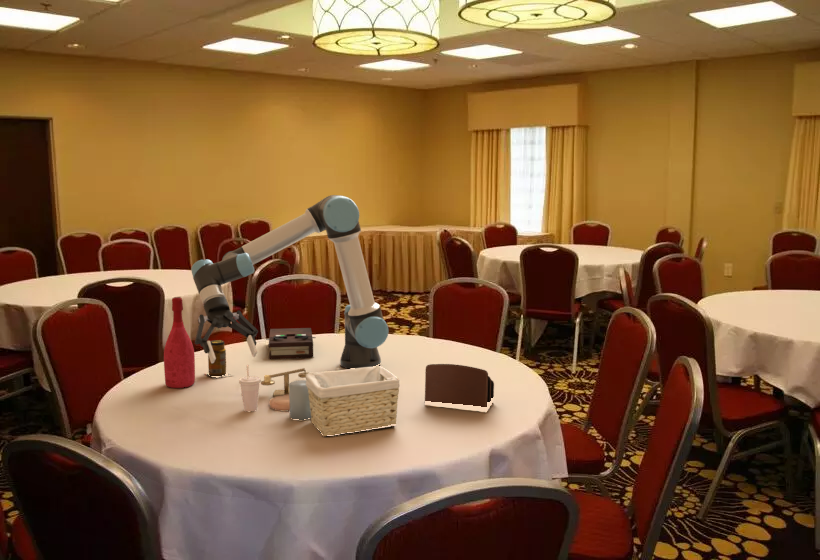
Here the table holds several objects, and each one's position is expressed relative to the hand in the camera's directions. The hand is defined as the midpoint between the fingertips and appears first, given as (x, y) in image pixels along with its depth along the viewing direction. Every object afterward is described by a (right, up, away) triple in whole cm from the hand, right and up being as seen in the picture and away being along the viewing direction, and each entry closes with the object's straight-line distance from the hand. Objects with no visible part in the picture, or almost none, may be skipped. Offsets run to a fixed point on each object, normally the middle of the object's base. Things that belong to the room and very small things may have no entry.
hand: (234, 357), depth 221 cm
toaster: (+69, -15, +3) cm, 71 cm away
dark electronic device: (+6, -5, +68) cm, 68 cm away
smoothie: (+6, -15, -4) cm, 17 cm away
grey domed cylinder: (+22, -16, -10) cm, 29 cm away
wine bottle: (-23, -11, +20) cm, 33 cm away
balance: (+14, -13, +11) cm, 22 cm away
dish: (+17, -15, +1) cm, 22 cm away
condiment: (-14, -10, +32) cm, 37 cm away
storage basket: (+38, -18, -16) cm, 45 cm away
